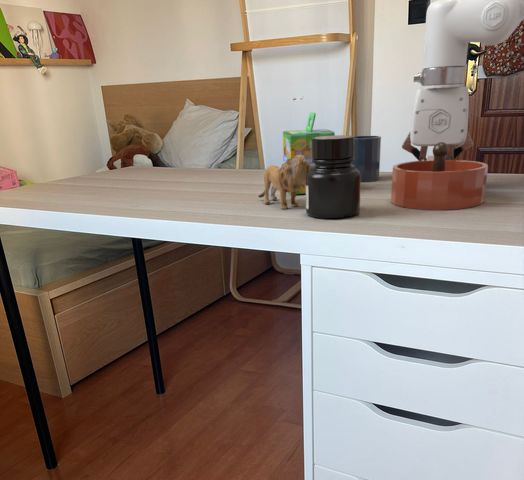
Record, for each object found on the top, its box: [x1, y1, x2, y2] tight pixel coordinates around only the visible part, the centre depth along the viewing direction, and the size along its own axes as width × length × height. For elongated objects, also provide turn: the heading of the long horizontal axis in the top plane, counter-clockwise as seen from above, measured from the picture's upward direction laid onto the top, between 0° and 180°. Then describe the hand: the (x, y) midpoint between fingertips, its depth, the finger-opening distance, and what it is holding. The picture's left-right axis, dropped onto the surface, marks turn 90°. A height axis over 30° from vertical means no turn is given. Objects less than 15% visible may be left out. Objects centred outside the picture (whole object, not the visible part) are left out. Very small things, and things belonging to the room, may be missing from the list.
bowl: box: [390, 155, 489, 211], centre depth 96 cm, size 16×23×6 cm
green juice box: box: [282, 112, 336, 195], centre depth 107 cm, size 9×9×15 cm
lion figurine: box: [258, 155, 312, 210], centre depth 96 cm, size 15×5×9 cm, turn 36°
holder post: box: [432, 142, 449, 172], centre depth 92 cm, size 9×9×10 cm
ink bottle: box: [305, 134, 362, 219], centre depth 86 cm, size 10×9×12 cm
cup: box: [351, 135, 382, 183], centre depth 118 cm, size 8×8×9 cm
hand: (433, 182), depth 105 cm, fingers closed on bowl, 3 cm apart
